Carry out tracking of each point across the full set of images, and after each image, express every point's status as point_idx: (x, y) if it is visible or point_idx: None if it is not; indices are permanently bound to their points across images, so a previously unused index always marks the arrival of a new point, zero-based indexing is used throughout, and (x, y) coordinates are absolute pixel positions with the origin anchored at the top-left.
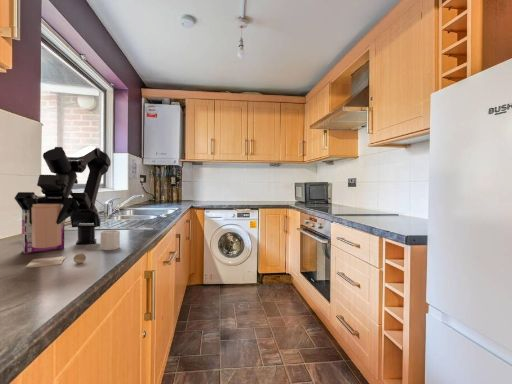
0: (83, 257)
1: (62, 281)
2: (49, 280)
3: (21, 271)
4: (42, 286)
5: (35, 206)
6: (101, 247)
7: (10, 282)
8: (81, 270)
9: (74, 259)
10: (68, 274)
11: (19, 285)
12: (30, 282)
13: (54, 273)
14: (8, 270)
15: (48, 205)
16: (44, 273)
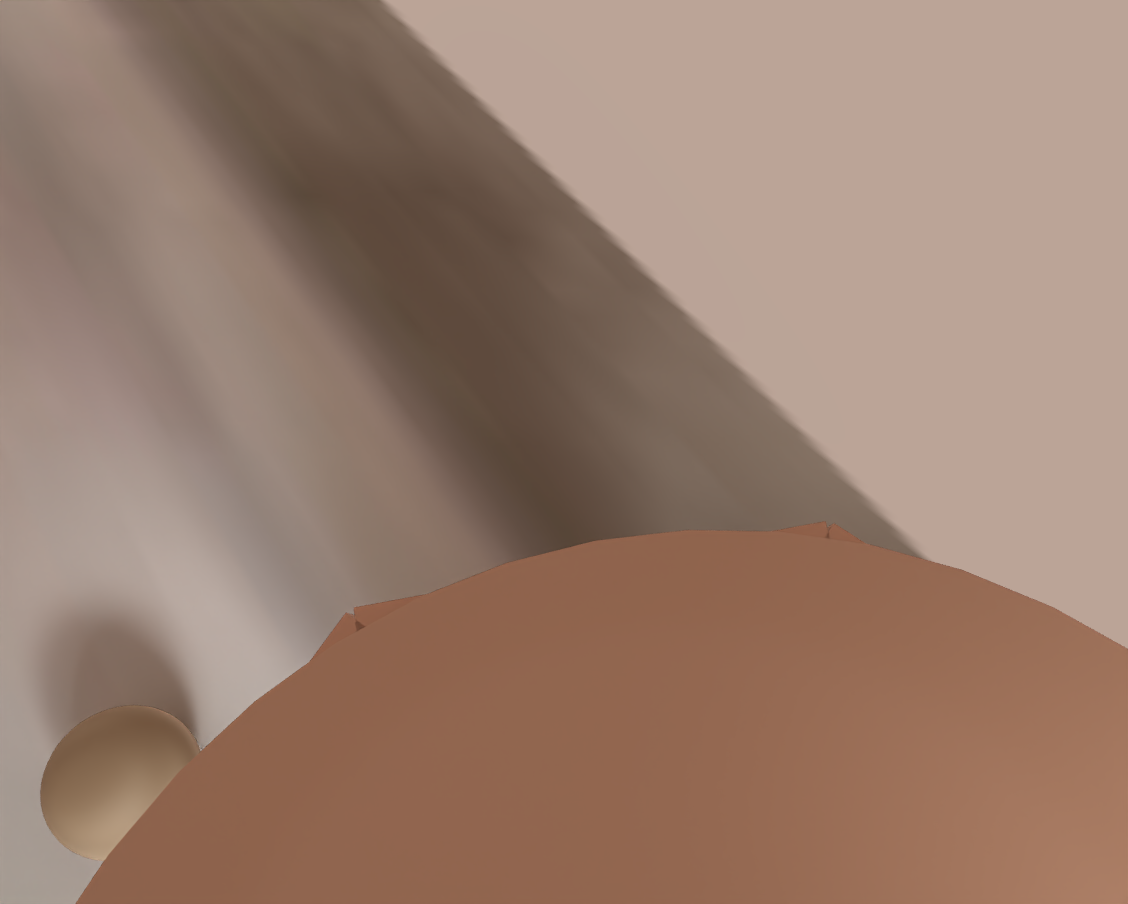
0: (52, 754)
1: (34, 176)
2: (163, 195)
3: (622, 433)
4: (134, 65)
5: (880, 566)
6: None
7: (464, 138)
8: (9, 493)
9: (166, 713)
10: (80, 359)
11: (334, 79)
12: (295, 144)
13: (238, 384)
14: (787, 461)
15: (242, 731)
16: (338, 380)
